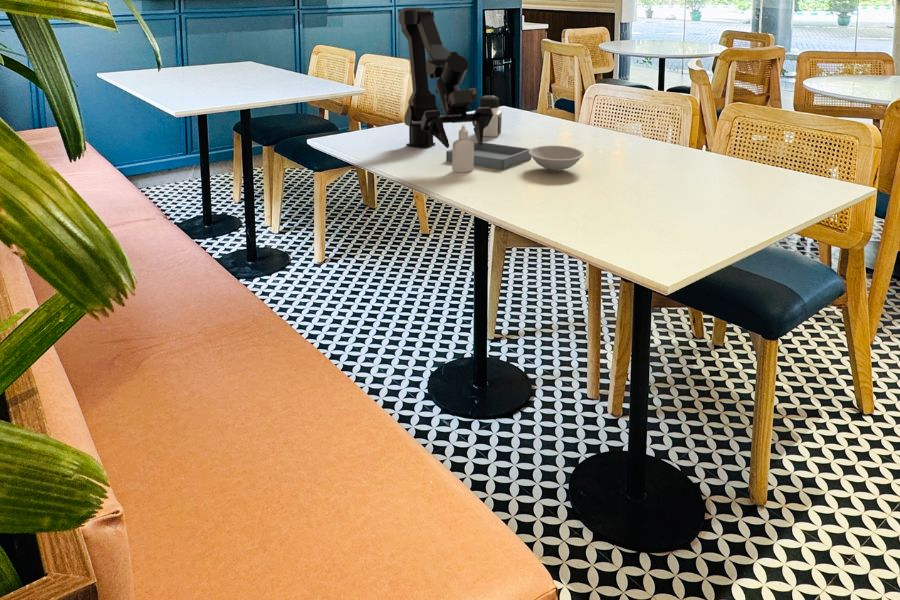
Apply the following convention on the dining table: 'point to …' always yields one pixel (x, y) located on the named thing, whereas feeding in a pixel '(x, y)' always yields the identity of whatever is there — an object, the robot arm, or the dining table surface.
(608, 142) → the dining table surface
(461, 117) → the robot arm
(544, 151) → the dish
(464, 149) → the eye dropper bottle
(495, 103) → the medicine bottle
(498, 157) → the slate tray
